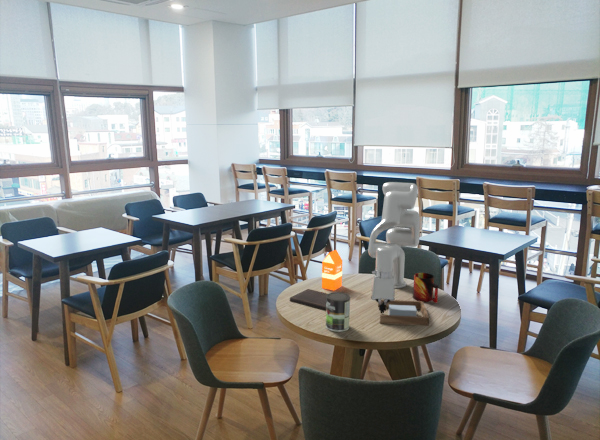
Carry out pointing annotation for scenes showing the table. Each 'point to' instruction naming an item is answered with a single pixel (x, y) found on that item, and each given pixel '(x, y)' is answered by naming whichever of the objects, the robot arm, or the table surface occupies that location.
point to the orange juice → (332, 271)
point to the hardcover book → (311, 299)
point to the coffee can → (337, 311)
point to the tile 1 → (396, 310)
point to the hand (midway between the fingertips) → (382, 311)
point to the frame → (406, 319)
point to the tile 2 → (409, 310)
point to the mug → (424, 287)
